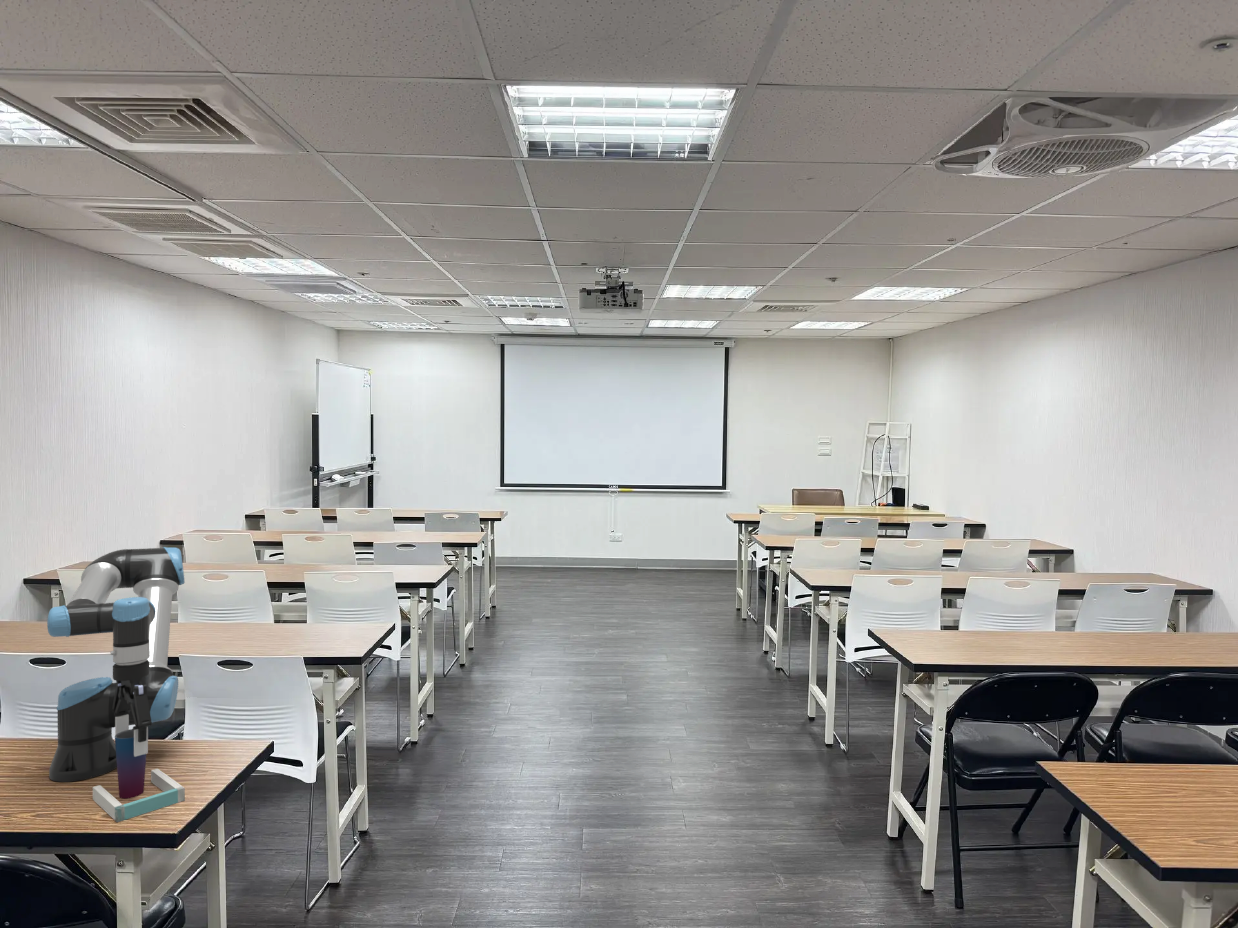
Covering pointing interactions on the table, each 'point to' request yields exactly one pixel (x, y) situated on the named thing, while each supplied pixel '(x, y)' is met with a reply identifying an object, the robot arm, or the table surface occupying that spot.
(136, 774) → the cup
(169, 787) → the bay
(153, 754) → the table surface
